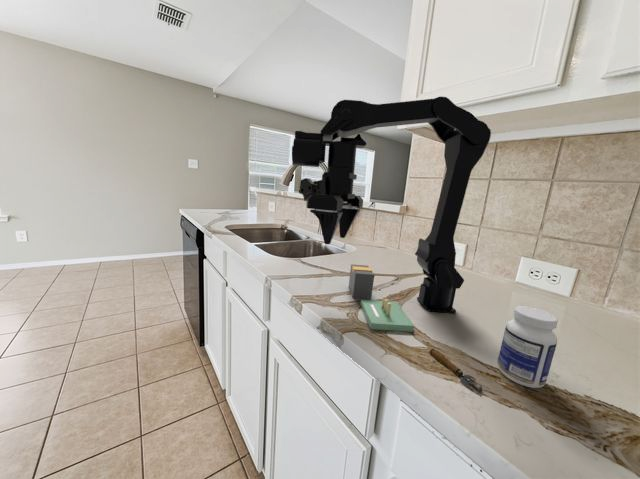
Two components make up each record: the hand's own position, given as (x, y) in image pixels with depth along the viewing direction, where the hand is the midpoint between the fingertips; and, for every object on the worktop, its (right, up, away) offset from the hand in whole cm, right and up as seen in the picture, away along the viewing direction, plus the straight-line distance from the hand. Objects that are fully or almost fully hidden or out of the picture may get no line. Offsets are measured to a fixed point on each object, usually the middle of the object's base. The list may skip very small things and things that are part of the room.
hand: (335, 240), depth 57 cm
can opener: (+16, -19, -20) cm, 32 cm away
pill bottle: (+26, -20, -19) cm, 38 cm away
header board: (+10, -15, -5) cm, 19 cm away
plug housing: (+6, -13, +6) cm, 16 cm away
